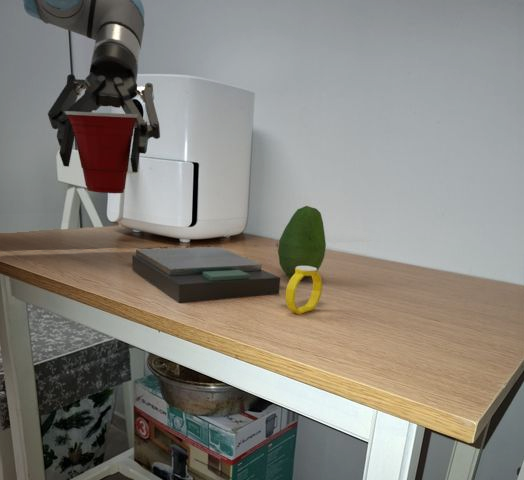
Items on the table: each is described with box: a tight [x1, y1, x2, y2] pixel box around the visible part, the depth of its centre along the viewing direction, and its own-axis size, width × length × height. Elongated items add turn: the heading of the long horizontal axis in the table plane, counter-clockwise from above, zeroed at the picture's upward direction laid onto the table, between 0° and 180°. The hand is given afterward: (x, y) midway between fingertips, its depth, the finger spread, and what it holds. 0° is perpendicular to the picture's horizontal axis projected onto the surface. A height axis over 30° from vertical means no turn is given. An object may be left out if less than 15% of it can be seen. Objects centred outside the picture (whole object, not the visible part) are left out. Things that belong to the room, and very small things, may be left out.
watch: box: [284, 266, 323, 315], centre depth 64 cm, size 6×3×6 cm, turn 136°
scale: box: [131, 246, 281, 304], centre depth 75 cm, size 19×16×4 cm
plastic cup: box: [65, 111, 138, 194], centre depth 77 cm, size 11×11×12 cm
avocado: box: [277, 205, 327, 281], centre depth 81 cm, size 8×8×12 cm
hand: (99, 162), depth 74 cm, fingers closed on plastic cup, 10 cm apart
